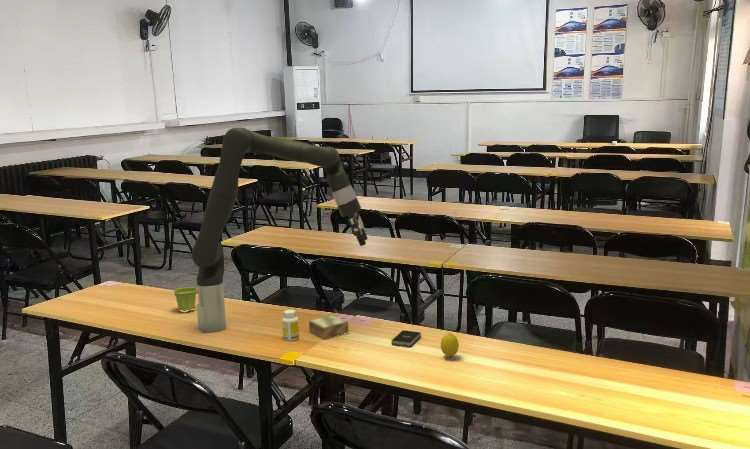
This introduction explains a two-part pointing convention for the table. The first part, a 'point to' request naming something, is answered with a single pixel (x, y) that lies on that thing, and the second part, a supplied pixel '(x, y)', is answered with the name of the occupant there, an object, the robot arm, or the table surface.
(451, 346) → the lemon
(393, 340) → the external hard drive
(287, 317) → the supplement bottle
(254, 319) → the table surface
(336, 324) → the pedestal
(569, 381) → the table surface
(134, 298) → the table surface
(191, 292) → the plant pot
